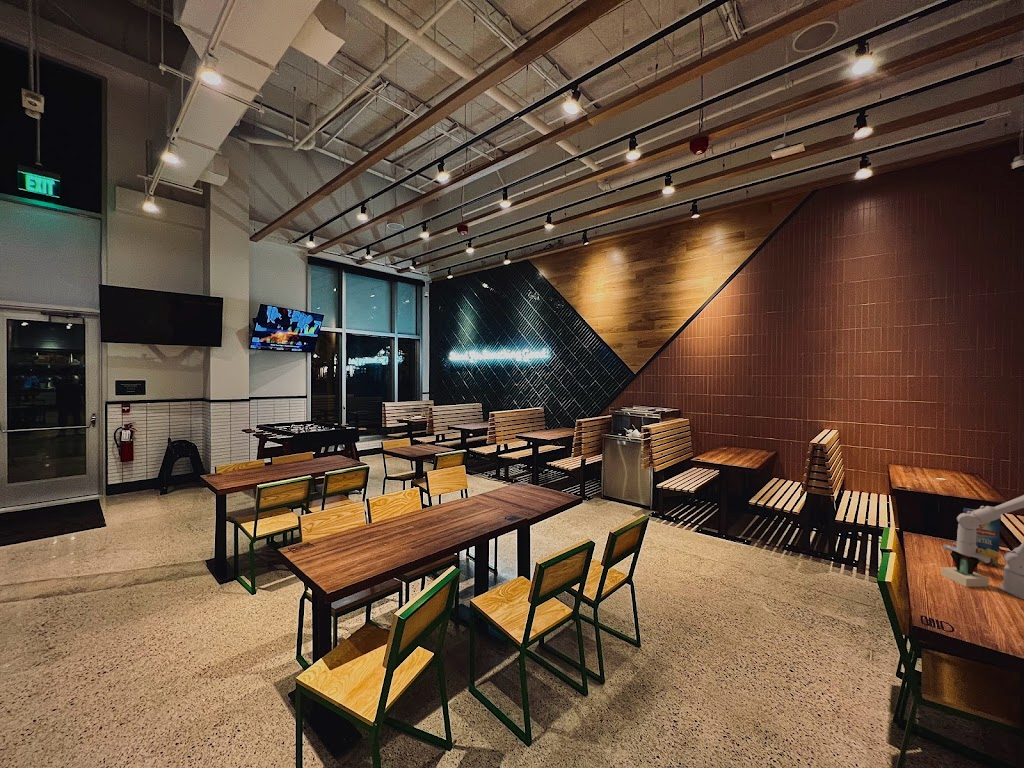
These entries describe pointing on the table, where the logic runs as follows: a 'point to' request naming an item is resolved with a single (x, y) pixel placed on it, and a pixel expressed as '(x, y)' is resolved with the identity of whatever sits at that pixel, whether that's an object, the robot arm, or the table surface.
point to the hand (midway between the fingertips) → (964, 571)
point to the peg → (964, 567)
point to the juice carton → (988, 540)
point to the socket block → (964, 577)
